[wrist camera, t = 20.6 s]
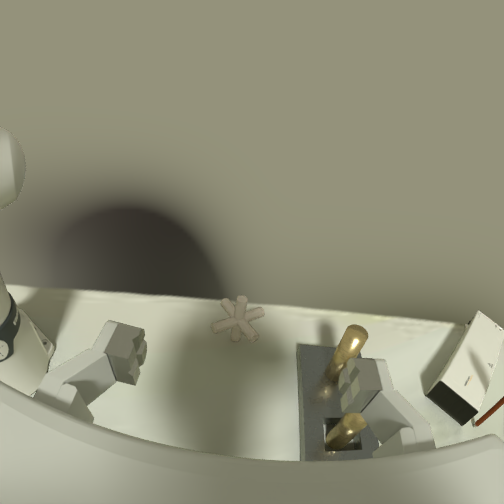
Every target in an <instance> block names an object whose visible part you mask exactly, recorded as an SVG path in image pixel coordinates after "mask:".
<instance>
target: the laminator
mask: <svg viewBox="0 0 504 504" xmlns="http://www.w3.org/2000/svg"><path fill="white" fill-rule="evenodd" d="M465 327H467V328H466V330H465V331H464V333H463V335H462V337H461V339H460V341H459V343H458V344H457V346H456V348H455V350H454V351H453V353H452V355H451V357H450V358H449V360H448V362H447V363H446V365H445V366H444V368H443V370H442V371H441V373H440V374H439V376H438V378H437V379H436V381H435V382H434V384H433V385H432V387H431V388H430V390H429V391H428V393H427V394H426V396H427V397H428V398H429V399H431V400H432V401H433V402H434V403H435V404H437V405H438V406H439V407H440V408H442V409H443V410H444V411H445V412H446V413H448V414H449V415H450V416H451V417H452V418H454V419H455V420H456V421H457V422H458V423H460V424H461V426H463V425H464V424H466V423H467V422H468V421H469V420H470V419H471V418H473V417H474V416H475V415H476V414H477V413H478V411H479V409H480V406H481V404H482V402H483V399H484V397H485V394H486V391H487V389H488V386H489V383H490V381H491V378H492V375H493V372H494V369H495V366H496V363H497V360H498V357H499V353H500V350H501V346H502V343H503V339H504V329H502V328H501V327H500V326H499V325H497V324H496V323H495V322H494V321H493V320H491V319H490V318H488V317H487V316H486V315H485V314H483V313H482V312H481V311H479V310H478V311H477V312H476V314H475V315H474V317H473V318H472V320H471V321H469V323H468V324H465Z"/></svg>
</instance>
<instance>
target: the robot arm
mask: <svg viewBox="0 0 504 504" xmlns="http://www.w3.org/2000/svg"><path fill="white" fill-rule="evenodd" d="M25 171H26V162H25V156H24V152H23V149H22V147H21V145H20V143H19V141H18V140H17V138H16V137H15V136H14V135H13V134H12V133H11V132H9V131H8V130H6V129H4V128H2V127H0V210H2V209H3V208H5V207H6V206H8V205H9V204H11V203H13V202H14V201H16V200H17V198H18V196H19V194H20V192H21V189H22V187H23V183H24V179H25ZM144 337H145V331H144V329H142V328H138V327H134V326H130V325H126V324H123V323H119V322H115V321H111V320H108V321H107V322H106V323H105V325H104V327H103V329H102V330H101V332H100V334H99V336H98V338H97V340H96V342H95V343H94V345H93V347H92V349H87V350H85V351H83V352H82V353H80V354H78V355H77V356H75V357H73V358H72V359H70V360H68V361H66V362H65V363H63V364H61V365H60V366H58V367H56V368H55V369H53V370H51V371H50V372H48V373H47V368H48V362H49V359H50V358H51V356H52V354H53V353H54V350H55V347H54V345H53V344H52V343H51V341H50V340H49V339H48V338H47V337H46V336H45V335H44V334H43V333H42V332H41V331H40V329H39V328H38V327H37V326H36V325H35V324H34V323H33V321H32V320H31V319H30V318H29V317H28V316H27V314H26V313H25V312H24V311H23V310H22V309H21V308H17V305H16V303H15V301H14V299H13V298H12V296H11V294H10V293H9V292H8V291H7V289H6V286H5V284H4V281H3V278H2V276H1V273H0V504H504V442H503V441H502V440H501V439H500V438H499V437H498V436H496V435H495V434H488V435H485V436H482V437H478V438H475V439H471V440H468V441H464V442H461V443H457V444H453V445H449V446H444V447H440V448H436V446H435V442H434V438H433V434H432V430H431V427H430V424H429V423H428V422H427V421H426V420H425V418H424V417H423V416H422V415H421V414H420V413H419V412H418V411H417V410H416V409H415V408H414V407H413V406H412V405H411V404H410V403H409V402H408V401H407V400H406V399H405V398H404V397H403V396H402V395H401V394H400V393H399V392H398V391H397V390H394V388H393V384H392V381H391V377H390V374H389V370H388V367H387V363H386V361H385V359H372V358H350V359H349V360H348V362H347V367H346V368H345V369H343V370H342V372H341V374H340V377H339V384H338V386H339V391H340V392H341V393H342V394H343V396H342V398H341V399H340V401H341V408H342V413H361V414H360V415H361V416H362V417H363V419H364V420H365V422H366V423H367V424H368V426H369V427H370V429H371V430H372V431H373V433H374V434H375V436H376V437H377V438H378V440H379V441H380V443H381V444H382V445H381V446H380V447H379V448H377V449H376V450H375V451H374V452H373V453H372V455H373V458H370V459H358V460H342V461H279V460H263V459H251V458H241V457H233V456H225V455H218V454H211V453H205V452H199V451H193V450H188V449H183V448H178V447H173V446H169V445H165V444H160V443H156V442H152V441H148V440H144V439H141V438H137V437H134V436H130V435H127V434H123V433H120V432H117V431H114V430H111V429H108V428H105V427H102V426H99V425H96V424H93V420H94V417H93V415H92V413H91V412H90V410H89V409H88V407H87V406H88V405H89V404H90V403H91V402H93V401H94V400H95V399H96V398H97V397H99V396H100V395H101V394H102V393H104V392H105V391H106V390H107V389H108V388H110V387H111V386H112V385H113V384H115V383H116V381H119V382H123V383H127V384H131V385H135V386H136V383H137V380H138V378H139V375H140V369H139V367H140V366H141V365H143V364H144V361H145V358H146V353H147V343H146V341H145V340H144ZM45 344H46V345H45ZM36 390H37V391H36ZM35 391H36V393H35V395H34V397H33V398H32V397H30V395H31V394H32V393H34V392H35Z"/></svg>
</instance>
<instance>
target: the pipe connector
mask: <svg viewBox="0 0 504 504" xmlns="http://www.w3.org/2000/svg"><path fill="white" fill-rule="evenodd" d="M247 300H248V299H247V298H246V297H245V296H242V295H240V296H238V297H237V300H236V306H234V305H233V304H232V302H231V301H230V300H229V299H228V298H225V299H223V300H222V301H221V306H222V307H223V308H224V309H225V311H226V312H227V313H228V314H229V316H230V318H227V319H224V320H221V321H218V322H215V323H212V324H211V328H212V331H213V332H214V333H218V332H221V331H224V330H227V329H230V328H232V332H231V340H232V341H235V342H237V341H239V340H240V337H241V332H243V333H244V335H245V336H246V337H247V338H248V340H249V341H250V342H254V341H256V340H257V339H258V338H259V335H258V334H257V332H256V331H255V330H254V329H253V328H252V326H251V325H250V324H249V323H248V322H249V321H252V320H254V319H257V318H260V317H262V316H264V310H263V308H262V307H258V308H256V309H253V310H250V311H247V312H245V311H246V305H247Z"/></svg>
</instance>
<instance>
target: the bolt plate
mask: <svg viewBox="0 0 504 504" xmlns="http://www.w3.org/2000/svg"><path fill="white" fill-rule="evenodd" d="M367 338H368V333H367V331H366V330H365V329H364V328H363V327H361V326H359V325H350V326H348V327H347V329H346V331H345V333H344V335H343V337H342V339H341V341H340V343H339V345H338V347H337V348H331V347H319V346H309V345H300V346H299V348H298V351H297V372H298V396H299V425H300V461H342V460H358V459H370V458H373V455H372V453H373V452H374V451H375V450H376V449H377V448H379V443H378V438H377V437H376V436H375V434H374V433H373V431H372V430H371V429H370V427H369V426H368V424H367V425H366V426H365V427H364V428H363V429H362V430H361V431H360V432H359V433H358V434H357V435H356V436H355V437H354V438H353V439H354V447H355V450H351V451H325V443H324V429H323V424H337V423H338V422H339V420H340V419H341V418H342V417H343V416H344V414H345V413H342V408H341V401H340V399H341V398H342V396H343V394H342V393H341V392H340V391H339V386H338V384H339V377H340V374H341V372H342V370H343V369H345V368H346V367H347V362H348V360H349V359H350V358H362V357H361V353H360V350H361V349H362V347H363V345H364V344H365V342H366V340H367Z"/></svg>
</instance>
